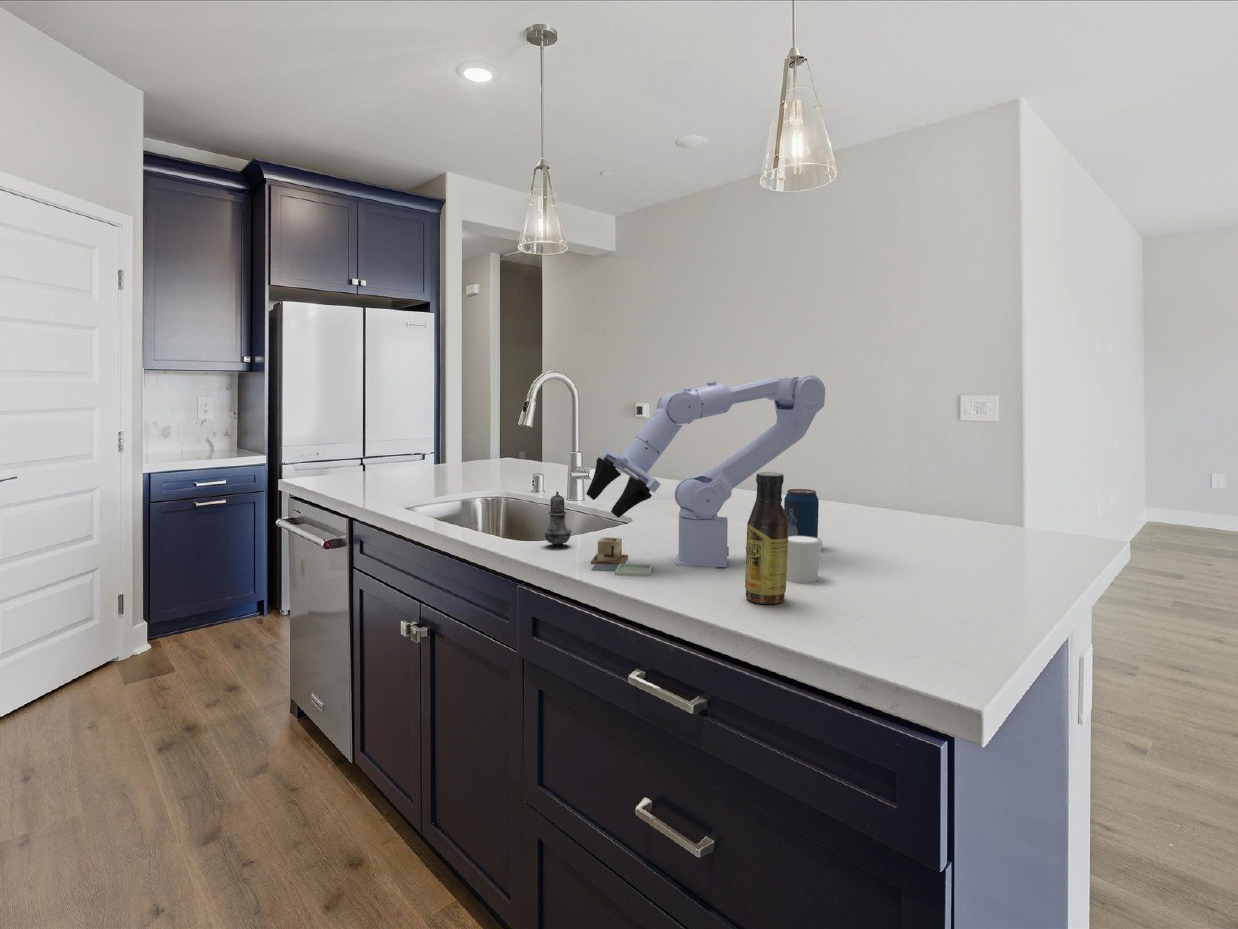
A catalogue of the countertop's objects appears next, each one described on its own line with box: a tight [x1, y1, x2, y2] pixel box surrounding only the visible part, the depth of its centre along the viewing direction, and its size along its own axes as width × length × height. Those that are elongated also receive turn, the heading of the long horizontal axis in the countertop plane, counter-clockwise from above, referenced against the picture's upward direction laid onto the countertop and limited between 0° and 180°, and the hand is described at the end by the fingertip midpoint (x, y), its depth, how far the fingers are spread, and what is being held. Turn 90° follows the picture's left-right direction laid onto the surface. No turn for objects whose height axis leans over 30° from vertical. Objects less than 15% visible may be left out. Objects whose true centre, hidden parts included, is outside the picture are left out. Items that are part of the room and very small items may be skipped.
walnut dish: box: [590, 553, 629, 565], centre depth 130 cm, size 6×6×1 cm
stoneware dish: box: [614, 563, 654, 577], centre depth 122 cm, size 6×6×1 cm
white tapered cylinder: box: [786, 536, 823, 584], centre depth 118 cm, size 7×7×7 cm
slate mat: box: [591, 564, 618, 572], centre depth 124 cm, size 4×4×1 cm
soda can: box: [783, 488, 820, 538], centre depth 142 cm, size 7×7×12 cm
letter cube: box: [597, 536, 623, 562], centre depth 129 cm, size 4×4×4 cm
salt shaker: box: [542, 491, 573, 550], centre depth 141 cm, size 6×6×12 cm
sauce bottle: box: [744, 471, 788, 605], centre depth 104 cm, size 7×6×20 cm
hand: (602, 505), depth 123 cm, fingers open, 7 cm apart
